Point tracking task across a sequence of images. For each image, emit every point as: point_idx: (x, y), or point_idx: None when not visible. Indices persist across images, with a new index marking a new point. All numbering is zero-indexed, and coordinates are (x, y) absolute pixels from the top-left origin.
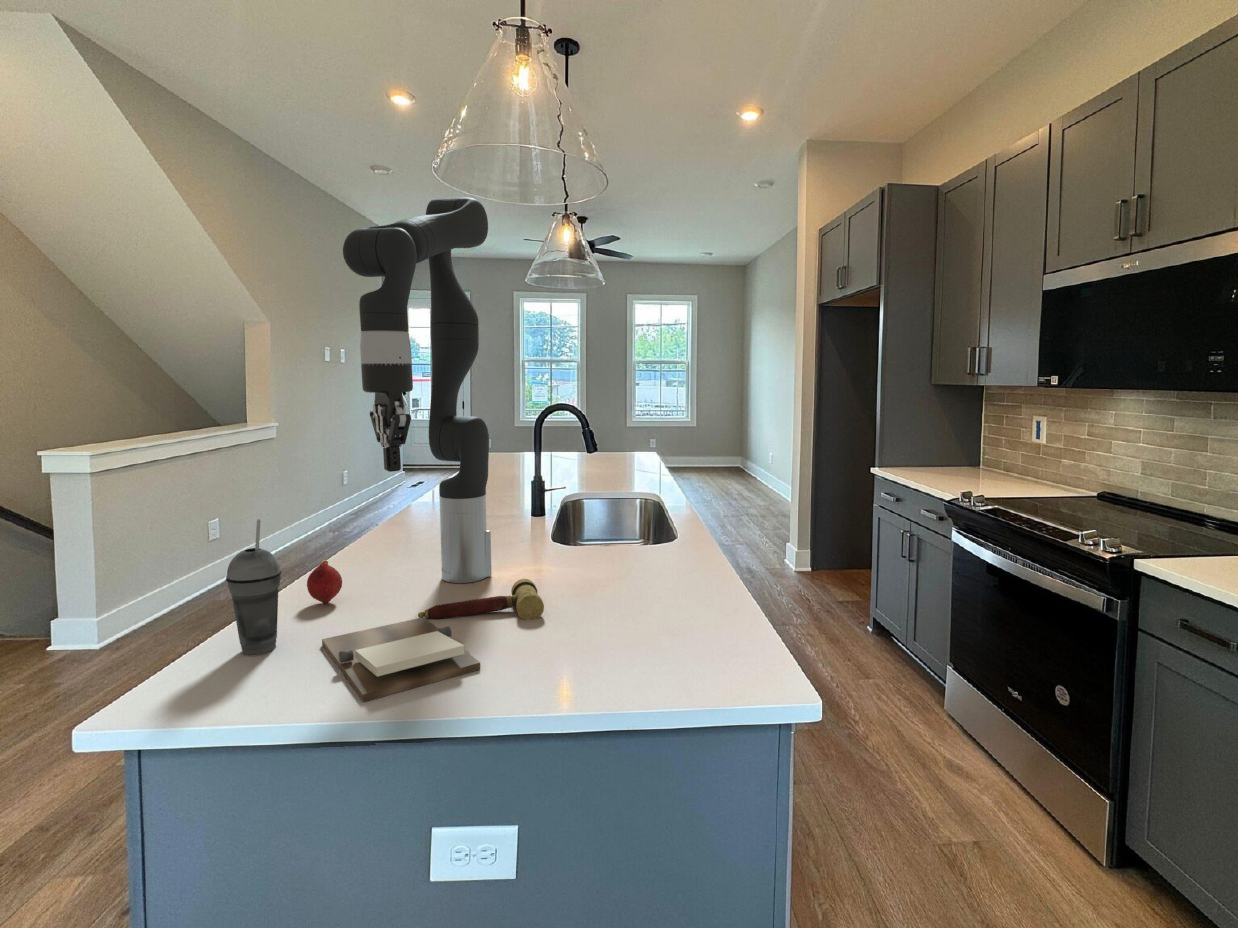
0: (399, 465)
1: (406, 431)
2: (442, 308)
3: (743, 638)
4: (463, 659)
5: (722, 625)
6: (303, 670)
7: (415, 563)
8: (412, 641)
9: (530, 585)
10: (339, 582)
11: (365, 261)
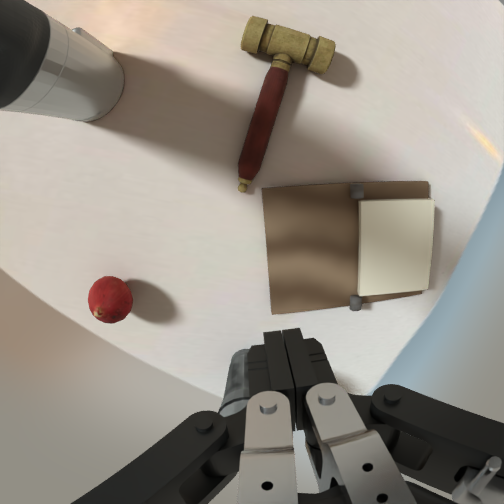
0: (318, 342)
1: (470, 418)
2: None
3: None
4: (414, 193)
5: None
6: (327, 330)
7: (8, 150)
8: (379, 239)
9: (266, 25)
10: (118, 284)
11: None
